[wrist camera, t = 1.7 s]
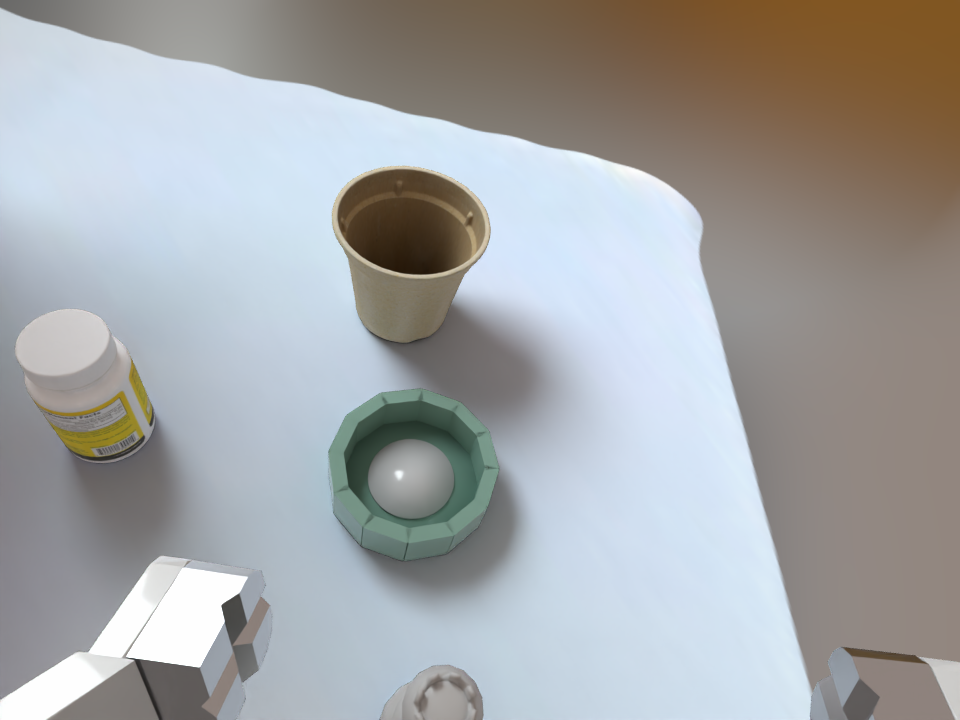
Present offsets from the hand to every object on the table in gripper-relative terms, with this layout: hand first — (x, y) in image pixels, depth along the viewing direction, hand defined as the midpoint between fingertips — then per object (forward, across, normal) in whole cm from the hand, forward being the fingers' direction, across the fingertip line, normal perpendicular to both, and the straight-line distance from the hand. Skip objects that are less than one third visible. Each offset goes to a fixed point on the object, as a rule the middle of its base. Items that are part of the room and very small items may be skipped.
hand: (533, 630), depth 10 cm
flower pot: (+34, +11, +14) cm, 39 cm away
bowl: (+23, +8, +19) cm, 30 cm away
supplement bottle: (+21, +24, +16) cm, 36 cm away
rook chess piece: (+11, +4, +24) cm, 27 cm away
